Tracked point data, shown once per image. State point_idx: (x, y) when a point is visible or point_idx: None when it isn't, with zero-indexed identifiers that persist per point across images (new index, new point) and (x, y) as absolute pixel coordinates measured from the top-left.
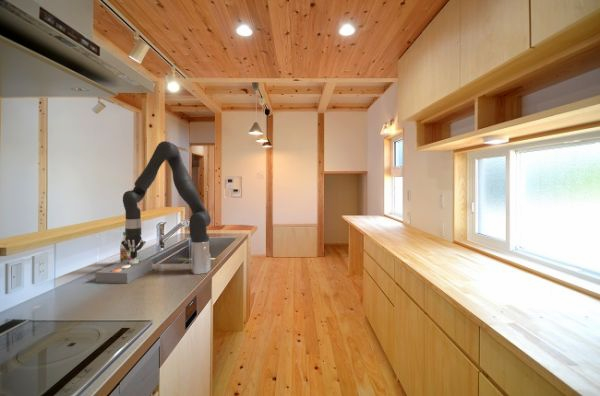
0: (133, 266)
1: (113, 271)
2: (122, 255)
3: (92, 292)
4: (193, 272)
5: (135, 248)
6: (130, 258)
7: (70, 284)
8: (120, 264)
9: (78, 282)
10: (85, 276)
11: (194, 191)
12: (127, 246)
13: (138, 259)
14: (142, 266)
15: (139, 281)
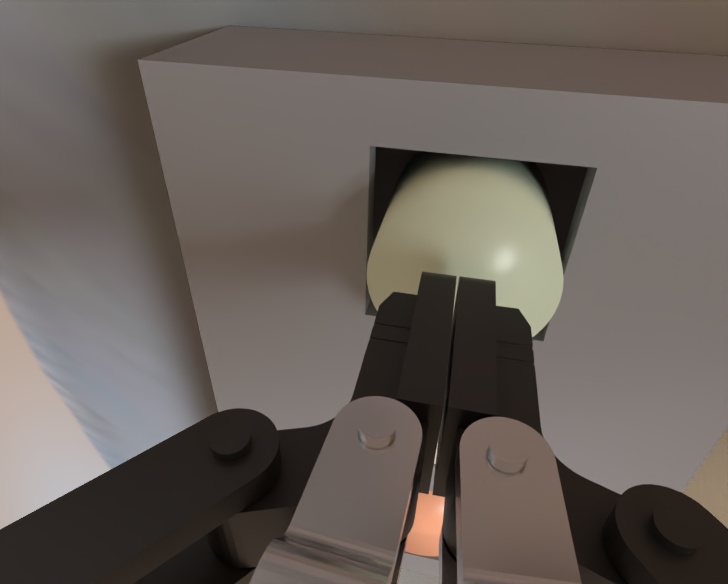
0: (568, 447)
1: (409, 550)
2: None
3: (408, 576)
4: None
5: (477, 524)
6: None
7: (139, 451)
8: (291, 338)
9: (151, 428)
10: (51, 311)
11: None
12: (95, 532)
13: (559, 261)
14: (716, 425)
15: (693, 489)
